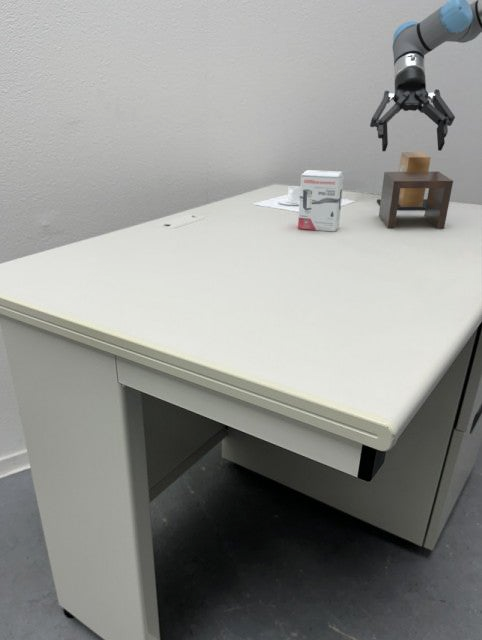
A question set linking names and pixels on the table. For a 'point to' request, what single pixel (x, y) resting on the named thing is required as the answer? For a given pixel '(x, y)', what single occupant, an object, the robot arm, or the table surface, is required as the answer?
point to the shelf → (432, 180)
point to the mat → (409, 207)
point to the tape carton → (413, 164)
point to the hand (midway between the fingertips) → (413, 147)
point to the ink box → (320, 200)
